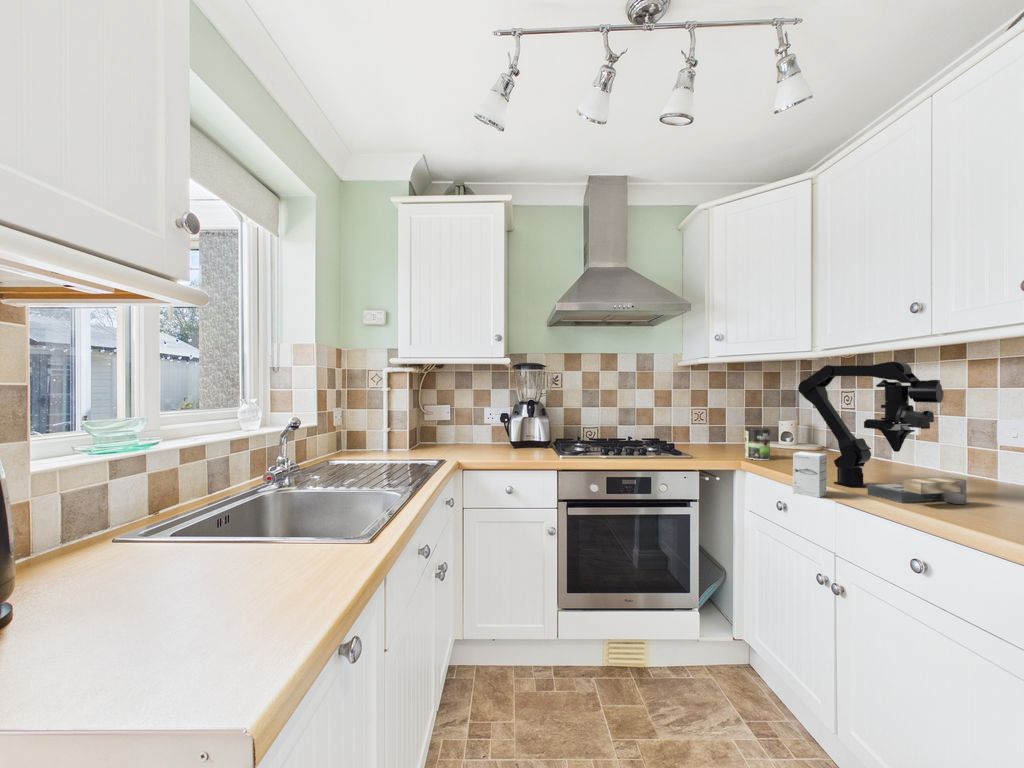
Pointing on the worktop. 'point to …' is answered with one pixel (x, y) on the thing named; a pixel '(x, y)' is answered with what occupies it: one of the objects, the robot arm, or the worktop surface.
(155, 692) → the worktop surface
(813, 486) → the supplement box
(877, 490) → the slab
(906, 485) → the notched beige block
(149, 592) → the worktop surface
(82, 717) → the worktop surface
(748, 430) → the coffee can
